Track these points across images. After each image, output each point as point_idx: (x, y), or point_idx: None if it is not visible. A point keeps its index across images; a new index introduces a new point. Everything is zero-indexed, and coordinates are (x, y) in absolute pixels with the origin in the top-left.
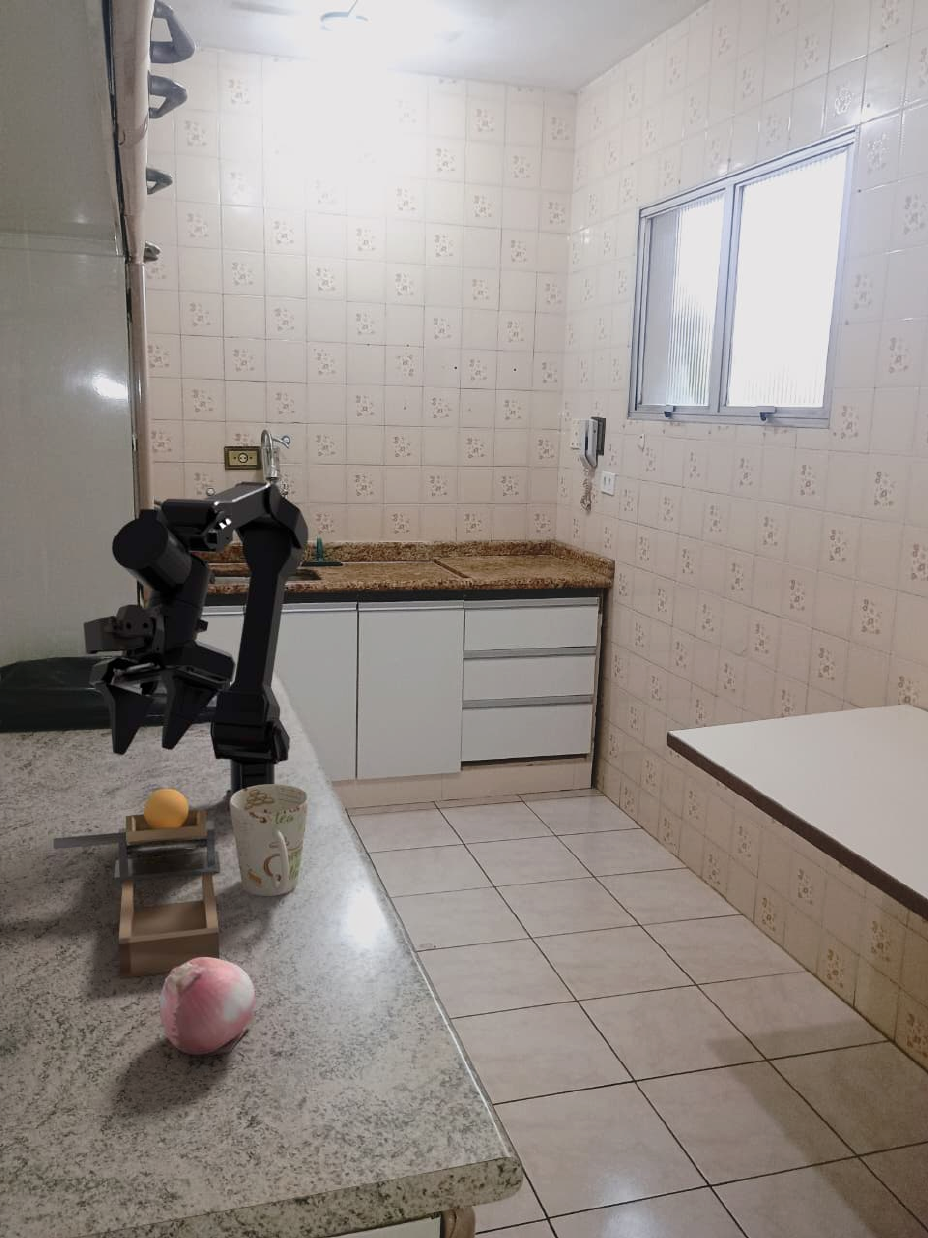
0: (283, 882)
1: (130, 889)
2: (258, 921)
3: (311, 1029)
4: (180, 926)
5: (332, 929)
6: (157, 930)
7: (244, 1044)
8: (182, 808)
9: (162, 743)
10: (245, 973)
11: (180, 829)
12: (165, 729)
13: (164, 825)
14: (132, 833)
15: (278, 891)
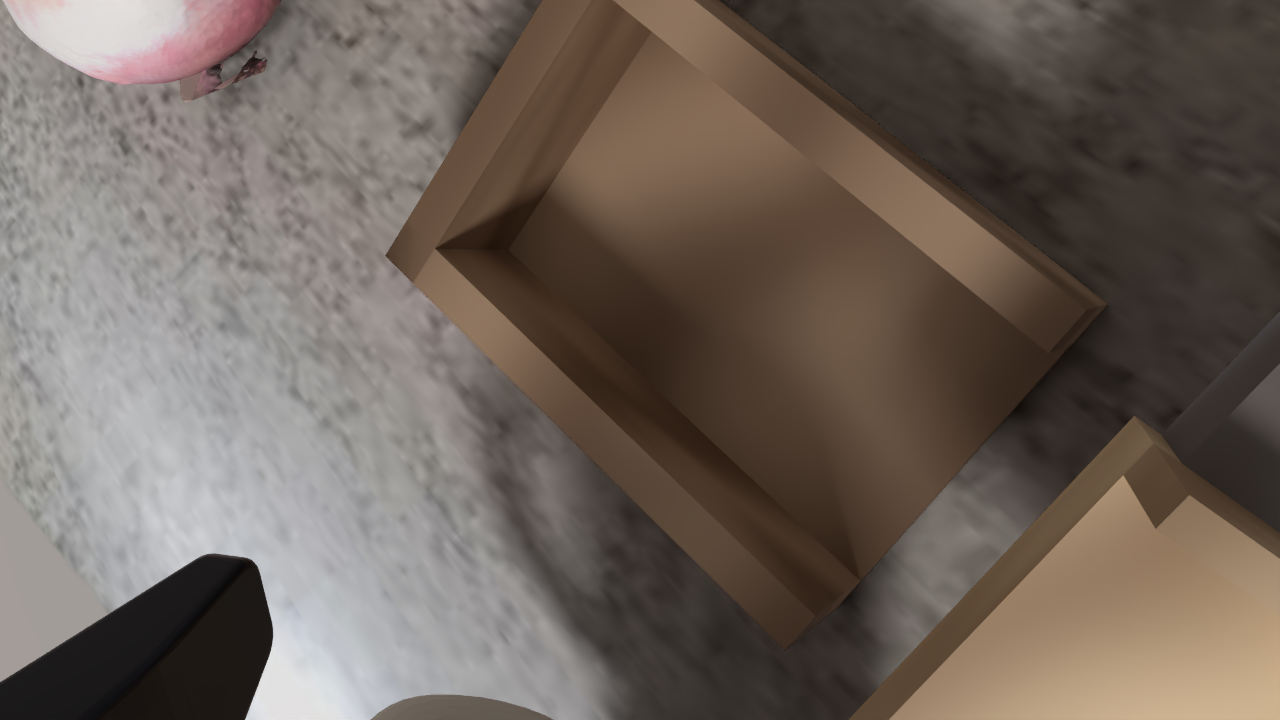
0: (430, 695)
1: (969, 273)
2: (583, 581)
3: (106, 192)
4: (756, 350)
5: (364, 670)
6: (805, 265)
7: None
8: None
9: (212, 573)
10: (31, 34)
11: (904, 694)
12: (62, 666)
13: None
14: (1117, 469)
15: (517, 706)
